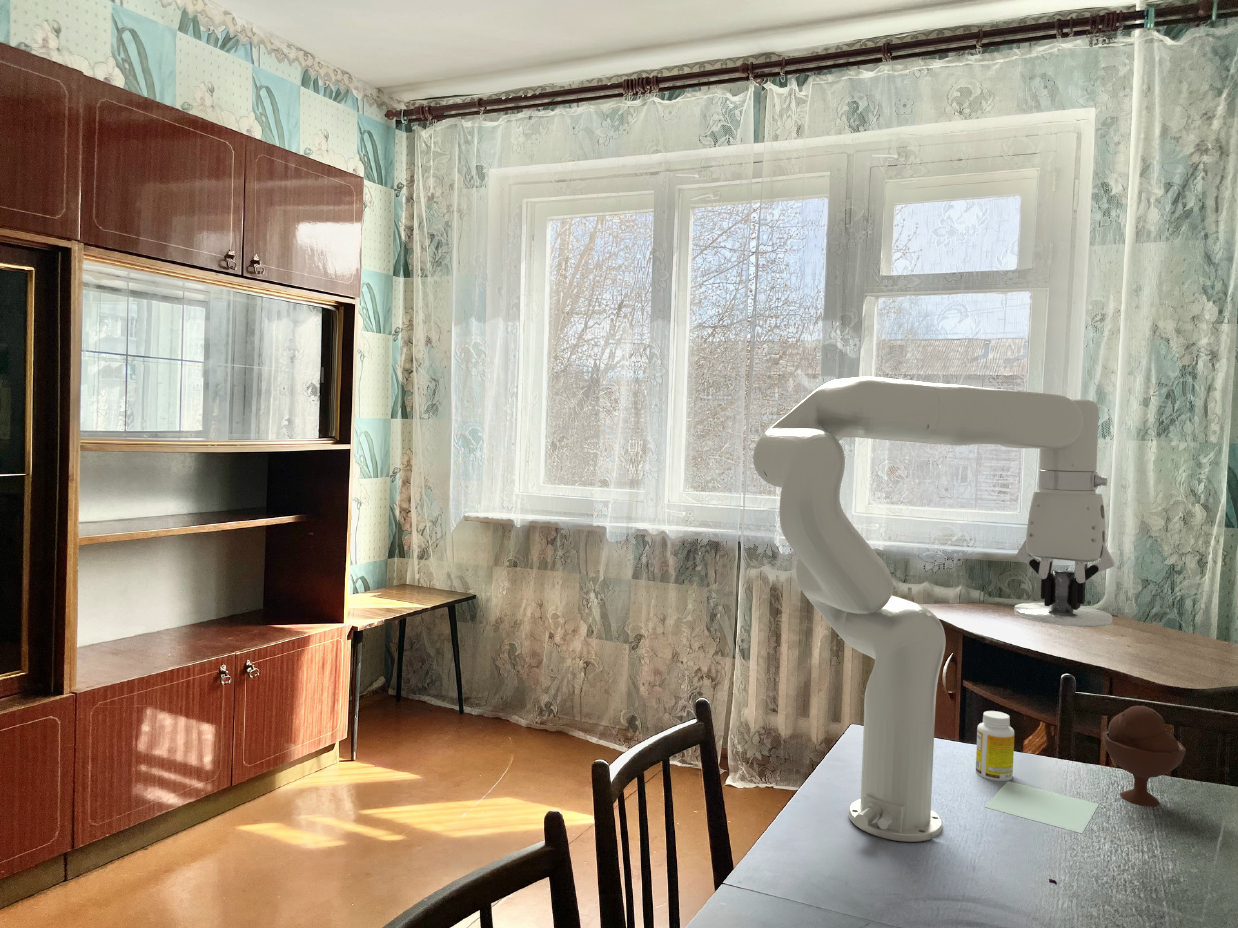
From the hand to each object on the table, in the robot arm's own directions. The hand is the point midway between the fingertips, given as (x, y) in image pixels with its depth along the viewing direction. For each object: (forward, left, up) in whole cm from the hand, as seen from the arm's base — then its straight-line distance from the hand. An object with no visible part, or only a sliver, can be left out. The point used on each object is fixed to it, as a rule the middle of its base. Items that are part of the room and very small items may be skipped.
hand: (1062, 605), depth 131 cm
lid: (0, 0, -2) cm, 2 cm away
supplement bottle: (+7, +10, -31) cm, 33 cm away
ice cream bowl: (+12, -10, -31) cm, 34 cm away
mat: (-1, +1, -30) cm, 30 cm away
